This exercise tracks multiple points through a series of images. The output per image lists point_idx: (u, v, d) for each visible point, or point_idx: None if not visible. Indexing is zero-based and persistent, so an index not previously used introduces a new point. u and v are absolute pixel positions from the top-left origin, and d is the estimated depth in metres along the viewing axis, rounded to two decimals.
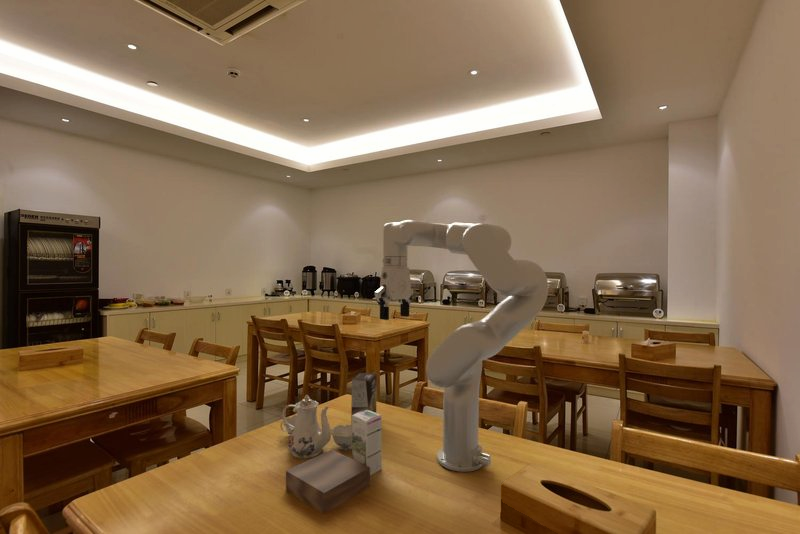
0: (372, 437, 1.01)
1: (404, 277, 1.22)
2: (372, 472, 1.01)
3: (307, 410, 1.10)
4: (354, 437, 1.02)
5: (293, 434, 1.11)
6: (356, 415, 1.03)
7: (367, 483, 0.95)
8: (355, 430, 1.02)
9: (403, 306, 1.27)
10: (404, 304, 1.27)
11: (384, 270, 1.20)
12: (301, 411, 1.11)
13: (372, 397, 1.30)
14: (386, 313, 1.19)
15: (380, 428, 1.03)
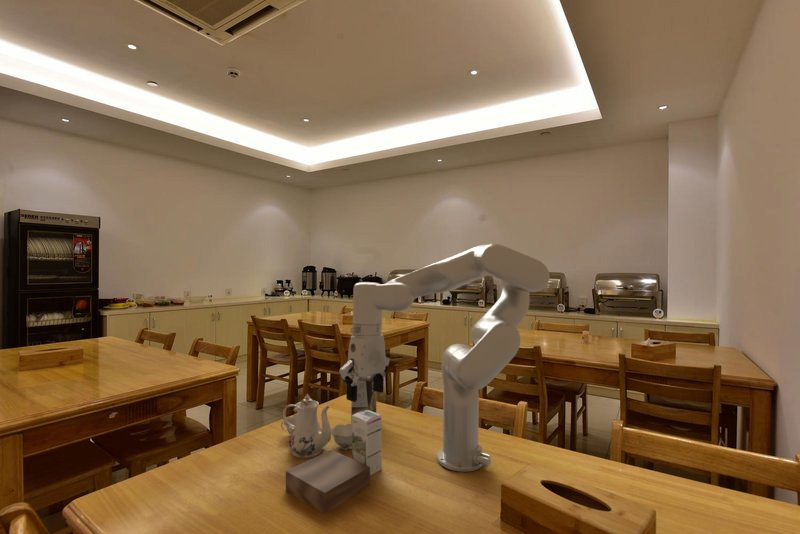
0: (372, 437, 1.01)
1: (377, 348, 1.02)
2: (372, 472, 1.01)
3: (307, 410, 1.11)
4: (354, 437, 1.02)
5: (294, 434, 1.11)
6: (356, 415, 1.03)
7: (367, 482, 0.95)
8: (355, 430, 1.02)
9: (376, 380, 1.07)
10: (378, 377, 1.06)
11: (353, 341, 1.00)
12: (301, 411, 1.11)
13: (372, 397, 1.30)
14: (354, 394, 0.98)
15: (380, 428, 1.03)
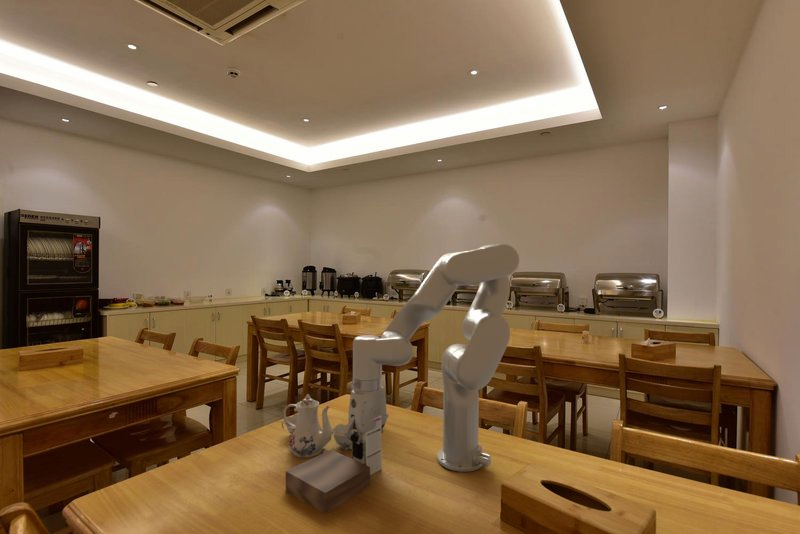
0: (372, 437, 1.01)
1: (378, 402, 1.02)
2: (372, 472, 1.01)
3: (308, 409, 1.11)
4: None
5: (294, 433, 1.12)
6: None
7: (367, 482, 0.95)
8: None
9: None
10: None
11: (353, 396, 1.00)
12: (302, 410, 1.11)
13: None
14: (359, 451, 1.00)
15: (380, 428, 1.03)
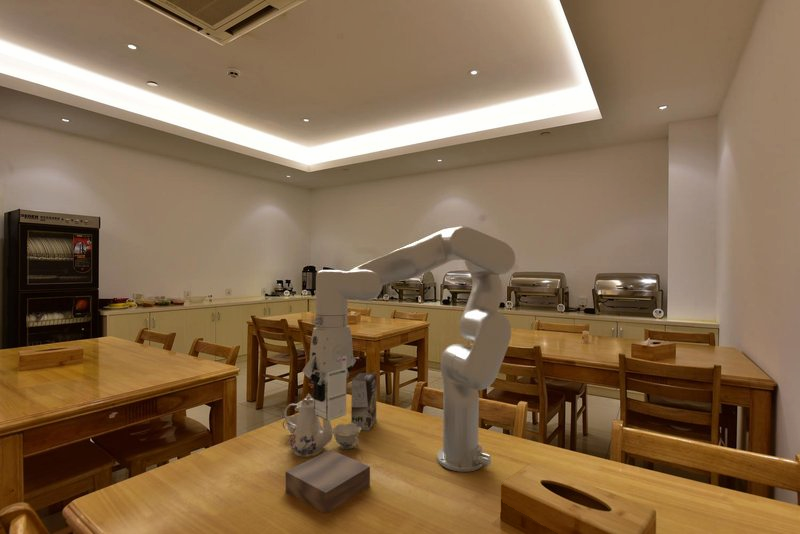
0: (335, 378, 0.93)
1: (342, 341, 0.94)
2: (335, 416, 0.93)
3: (309, 409, 1.11)
4: None
5: (295, 433, 1.12)
6: None
7: (367, 482, 0.95)
8: None
9: None
10: None
11: (315, 333, 0.92)
12: (303, 410, 1.11)
13: (372, 397, 1.30)
14: (321, 393, 0.91)
15: (345, 370, 0.95)
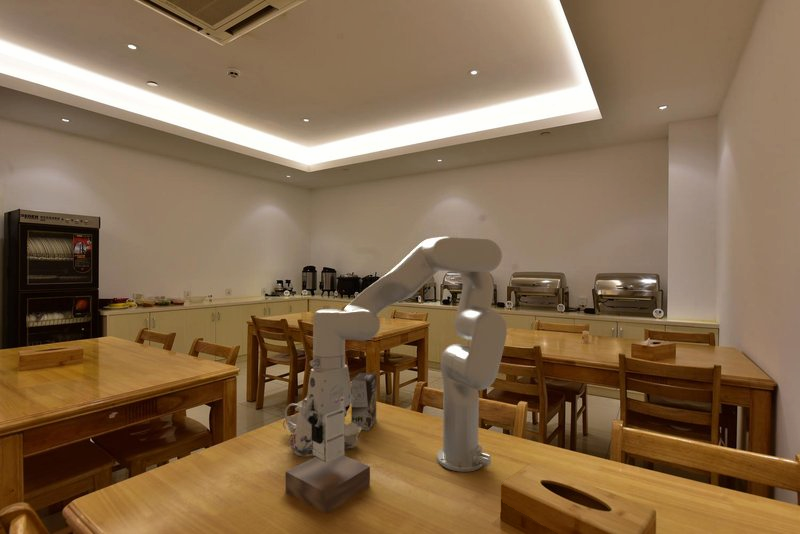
0: (333, 419, 0.92)
1: (340, 381, 0.94)
2: (333, 458, 0.92)
3: None
4: None
5: (295, 433, 1.12)
6: None
7: (367, 482, 0.95)
8: None
9: None
10: None
11: (312, 375, 0.91)
12: None
13: (372, 397, 1.30)
14: (319, 435, 0.91)
15: (342, 410, 0.94)
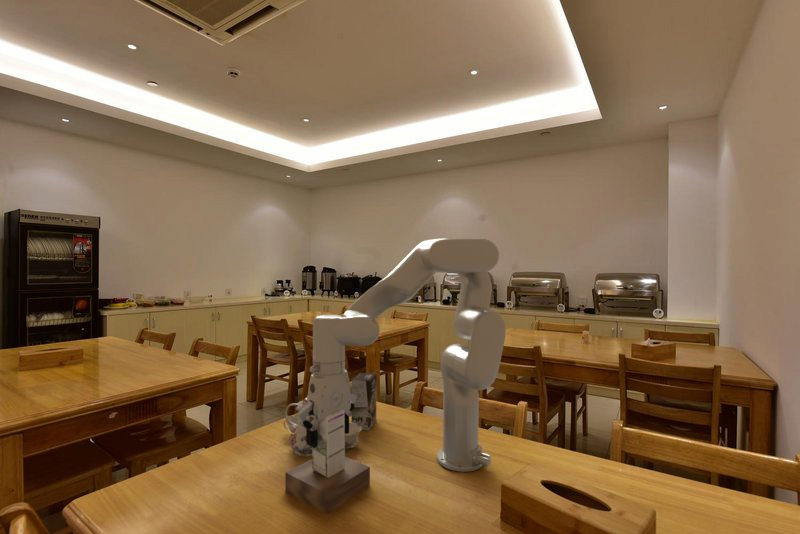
0: (334, 434, 0.92)
1: (340, 387, 0.94)
2: (334, 472, 0.92)
3: None
4: None
5: (296, 432, 1.12)
6: None
7: (367, 482, 0.95)
8: None
9: None
10: None
11: (312, 381, 0.91)
12: None
13: (372, 397, 1.30)
14: (314, 439, 0.90)
15: (343, 424, 0.94)
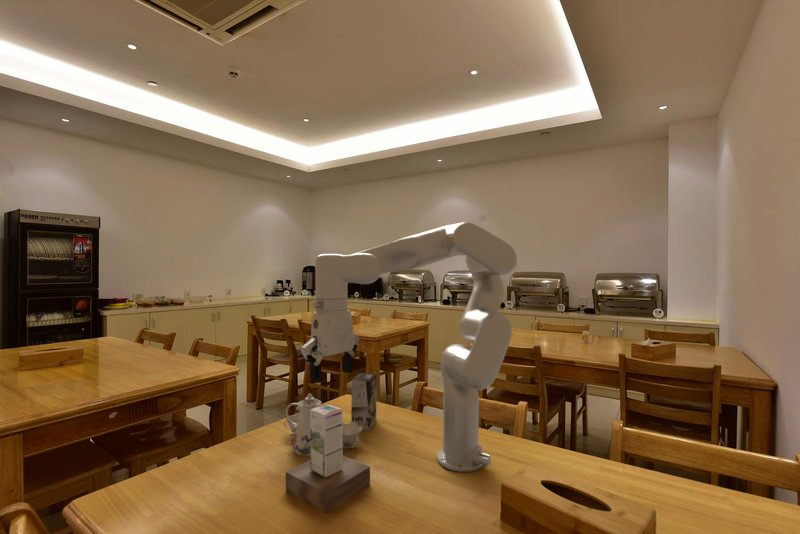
0: (331, 432, 0.92)
1: (343, 324, 0.94)
2: (331, 472, 0.92)
3: (310, 408, 1.12)
4: (312, 434, 0.93)
5: (296, 432, 1.13)
6: (314, 409, 0.94)
7: (367, 482, 0.96)
8: (313, 426, 0.93)
9: (345, 359, 0.99)
10: (346, 357, 0.99)
11: (315, 317, 0.92)
12: (304, 409, 1.12)
13: (372, 397, 1.30)
14: (317, 374, 0.91)
15: (341, 423, 0.94)
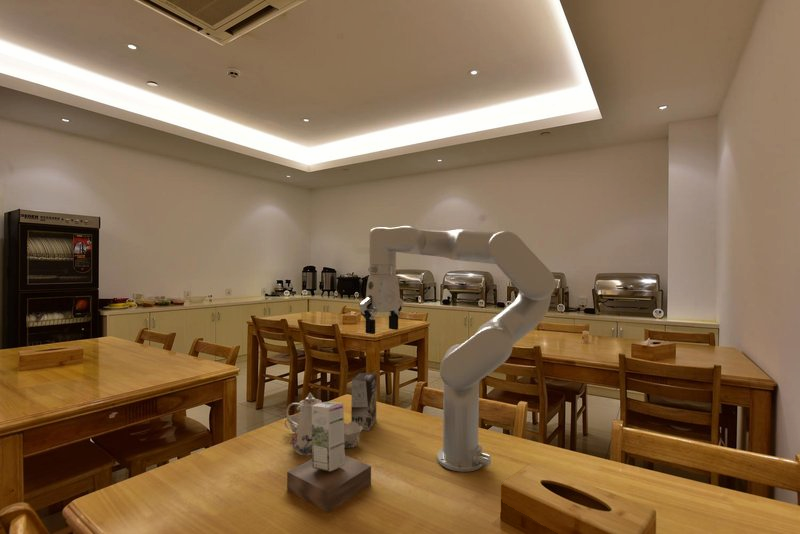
0: (334, 426, 0.94)
1: (392, 287, 1.12)
2: (335, 466, 0.93)
3: (310, 408, 1.12)
4: (314, 430, 0.95)
5: (297, 432, 1.13)
6: (316, 405, 0.96)
7: (368, 481, 0.96)
8: (315, 421, 0.95)
9: (392, 318, 1.17)
10: (393, 316, 1.17)
11: (370, 279, 1.10)
12: (304, 409, 1.12)
13: (372, 397, 1.30)
14: (372, 327, 1.09)
15: (342, 417, 0.97)
